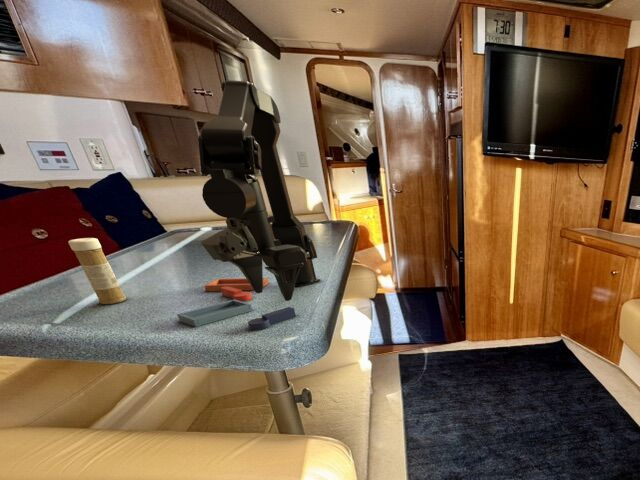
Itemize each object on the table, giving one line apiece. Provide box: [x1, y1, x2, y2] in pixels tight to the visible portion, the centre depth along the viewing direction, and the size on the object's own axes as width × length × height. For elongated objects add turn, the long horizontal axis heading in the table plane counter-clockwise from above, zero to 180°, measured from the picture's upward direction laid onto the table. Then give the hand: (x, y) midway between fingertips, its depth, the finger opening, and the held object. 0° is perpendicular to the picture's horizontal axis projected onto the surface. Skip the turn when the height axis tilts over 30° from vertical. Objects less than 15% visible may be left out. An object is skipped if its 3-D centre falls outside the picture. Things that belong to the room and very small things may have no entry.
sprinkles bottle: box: [67, 237, 127, 305], centre depth 86 cm, size 5×5×14 cm
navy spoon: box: [247, 306, 297, 331], centre depth 79 cm, size 9×4×2 cm, turn 150°
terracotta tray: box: [203, 277, 270, 292], centre depth 100 cm, size 12×6×1 cm, turn 96°
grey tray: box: [176, 299, 254, 328], centre depth 82 cm, size 11×6×1 cm, turn 150°
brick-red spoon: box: [220, 286, 253, 302], centre depth 93 cm, size 9×4×2 cm, turn 60°
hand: (273, 296), depth 78 cm, fingers open, 9 cm apart
